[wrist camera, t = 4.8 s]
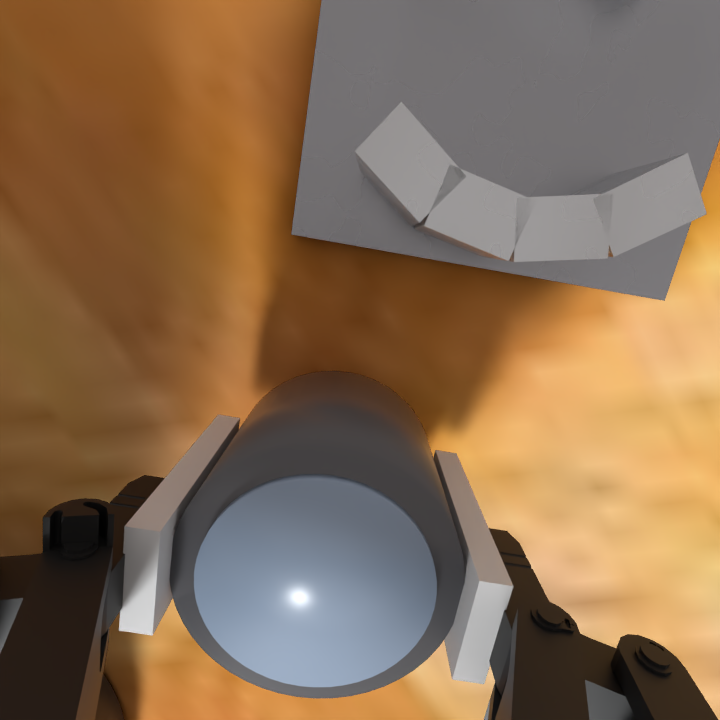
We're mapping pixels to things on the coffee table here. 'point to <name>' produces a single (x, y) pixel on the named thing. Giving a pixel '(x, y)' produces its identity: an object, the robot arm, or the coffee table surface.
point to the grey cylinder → (320, 543)
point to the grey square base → (514, 134)
